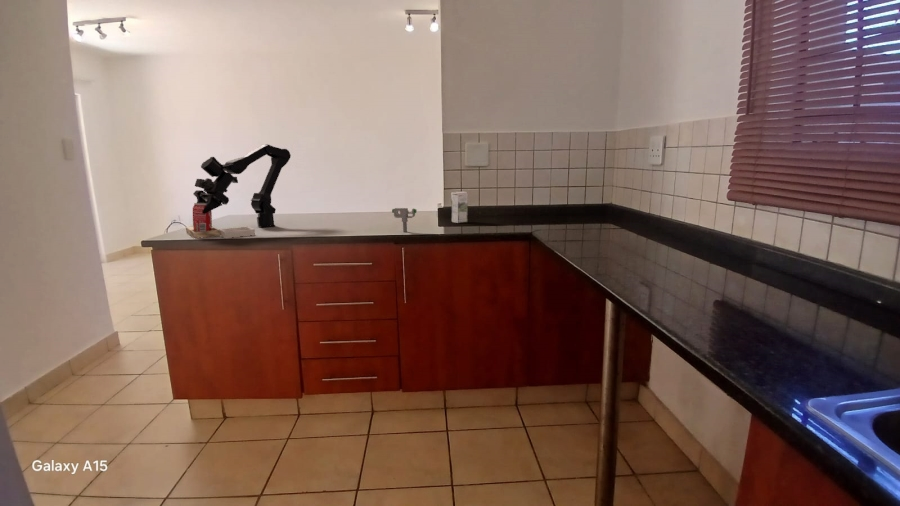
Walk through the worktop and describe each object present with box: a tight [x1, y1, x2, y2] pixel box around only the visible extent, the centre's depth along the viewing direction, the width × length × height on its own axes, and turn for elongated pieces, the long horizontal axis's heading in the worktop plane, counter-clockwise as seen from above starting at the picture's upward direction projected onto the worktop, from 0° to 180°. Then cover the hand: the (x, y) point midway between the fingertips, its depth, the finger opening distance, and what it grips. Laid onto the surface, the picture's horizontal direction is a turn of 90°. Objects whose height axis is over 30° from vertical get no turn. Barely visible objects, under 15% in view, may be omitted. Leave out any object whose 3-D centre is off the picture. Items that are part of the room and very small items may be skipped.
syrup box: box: [450, 190, 469, 224], centre depth 222 cm, size 6×6×14 cm
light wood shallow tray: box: [185, 225, 220, 239], centre depth 202 cm, size 10×20×2 cm, turn 37°
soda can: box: [192, 202, 213, 232], centre depth 197 cm, size 7×7×12 cm
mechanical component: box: [391, 207, 418, 233], centre depth 197 cm, size 3×10×10 cm, turn 78°
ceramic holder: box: [218, 226, 256, 239], centre depth 198 cm, size 12×12×2 cm
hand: (199, 212), depth 195 cm, fingers closed on soda can, 6 cm apart
